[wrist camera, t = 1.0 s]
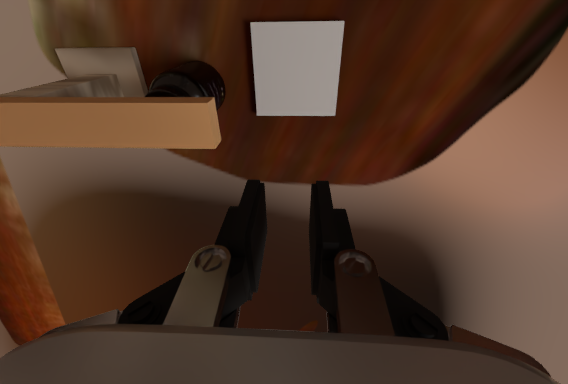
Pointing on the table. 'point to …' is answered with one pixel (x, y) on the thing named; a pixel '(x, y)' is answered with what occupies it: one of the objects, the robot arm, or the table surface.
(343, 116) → the table surface
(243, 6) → the table surface
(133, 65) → the stand
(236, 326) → the robot arm
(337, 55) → the grey mat
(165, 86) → the supplement bottle
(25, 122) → the strap bar
